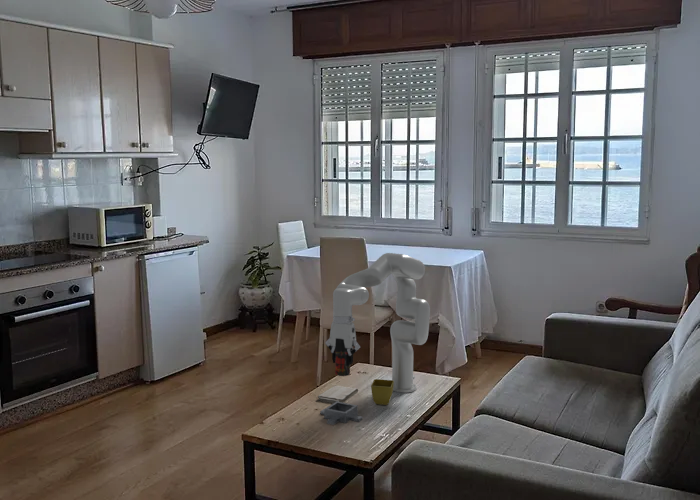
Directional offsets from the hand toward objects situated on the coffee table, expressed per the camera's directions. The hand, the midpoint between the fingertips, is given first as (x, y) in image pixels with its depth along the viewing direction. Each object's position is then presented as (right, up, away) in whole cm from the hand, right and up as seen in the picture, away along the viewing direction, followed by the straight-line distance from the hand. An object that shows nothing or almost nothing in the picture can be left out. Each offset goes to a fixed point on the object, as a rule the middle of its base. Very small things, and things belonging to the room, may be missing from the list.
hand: (342, 362), depth 267 cm
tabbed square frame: (-1, -22, +3) cm, 23 cm away
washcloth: (-2, -20, +27) cm, 33 cm away
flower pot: (+17, -21, +18) cm, 32 cm away
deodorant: (0, -5, +1) cm, 5 cm away
